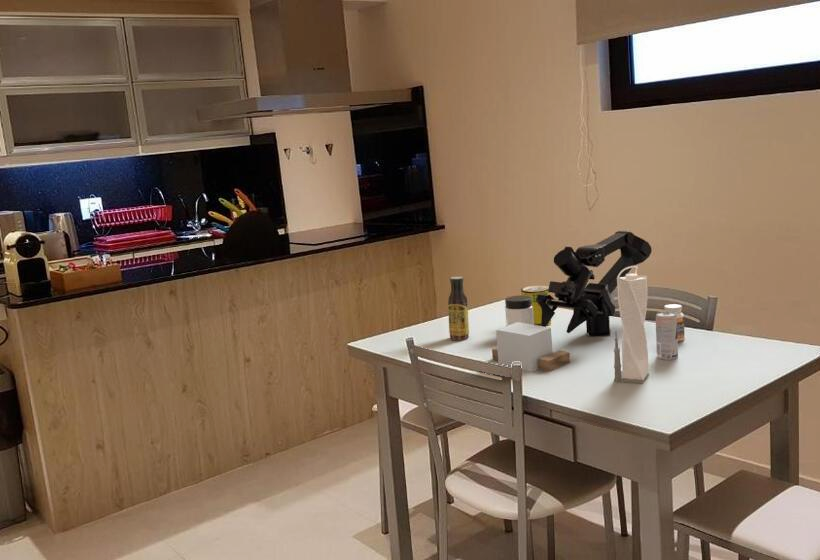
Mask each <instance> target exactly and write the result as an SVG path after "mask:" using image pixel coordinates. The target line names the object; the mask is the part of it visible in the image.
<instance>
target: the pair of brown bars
mask: <svg viewBox="0 0 820 560" xmlns="http://www.w3.org/2000/svg"><path fill="white" fill-rule="evenodd" d="M570 353H571V352H570V351H565V350H556V351H554V352H553V353H551V354H549V355H546V356H544V357H541V358H539V359H538V364H539V369H538V370H540V371H543V372H549V373H550V372H552V371H554V370H556V369H559V368H561V367H564V366H566V365H568V364H570V363H571V354H570ZM491 354H492V360H496V361H498V348H497V346H496V347H493V348H491Z"/></svg>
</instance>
